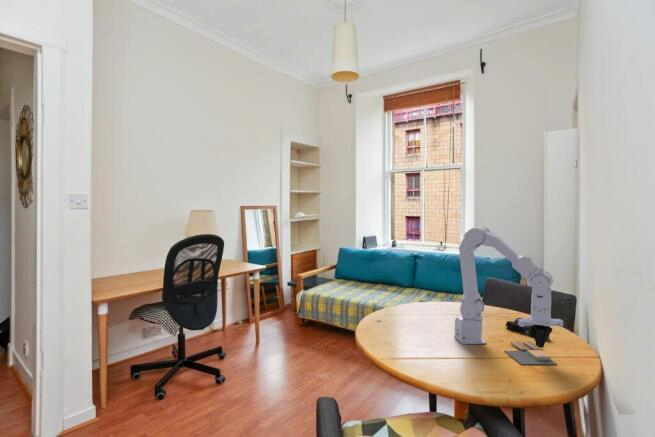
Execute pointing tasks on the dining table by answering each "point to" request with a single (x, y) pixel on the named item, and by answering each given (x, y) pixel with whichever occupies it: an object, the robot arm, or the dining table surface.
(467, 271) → the robot arm
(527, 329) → the handgun
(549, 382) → the dining table surface
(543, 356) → the tile
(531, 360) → the mat
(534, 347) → the tile rack
